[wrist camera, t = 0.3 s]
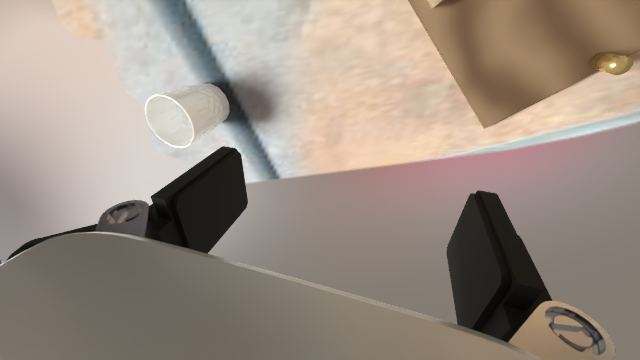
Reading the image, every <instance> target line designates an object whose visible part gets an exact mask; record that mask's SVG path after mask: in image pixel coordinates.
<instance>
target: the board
mask: <svg viewBox="0 0 640 360" xmlns="http://www.w3.org/2000/svg"><path fill="white" fill-rule="evenodd" d="M408 1H409V3H410V4H411V6H412V8H413V9H414V11H415V13H416V14H417V16H418V18H419V19H420V21H421V23H422V24H423V26H424V28H425V30H426V31H427V33H428V35H429V36H430V38H431V40H432V41H433V43H434V45H435V46H436V48H437V50H438V52H439V53H440V55H441V57H442V58H443V60H444V62H445V63H446V65H447V67H448V68H449V70H450V72H451V73H452V75H453V77H454V79H455V80H456V82H457V84H458V85H459V87H460V89H461V90H462V92H463V94H464V95H465V97H466V99H467V101H468V102H469V104H470V106H471V107H472V109H473V111H474V112H475V114H476V116H477V117H478V119H479V121H480V123H481V124H482V126H483V127H484V129H485V128H487V127H488V126H490V125H492V124H494V123H496V122H498V121H500V120H502V119H504V118H506V117H508V116H510V115H512V114H514V113H516V112H518V111H520V110H522V109H524V108H526V107H528V106H530V105H532V104H534V103H536V102H538V101H540V100H542V99H544V98H546V97H548V96H550V95H552V94H553V93H555V92H557V91H559V90H561V89H563V88H565V87H567V86H569V85H571V84H573V83H575V82H577V81H579V80H581V79H583V78H585V77H587V76H589V75H591V74H593V73H595V72H597V71H599V70H597V69H594V68H591V67H590V65H589V62H590V60H591V58H592V57H593V56H594V55H596V54H597V53H600V52H607V53H612V54H617V55H622V56H628V55H630V54H632V53H634V52H636V51H638V50H640V0H442V1H441V2H440V3H439V4H437V5H436V6H435V7H434V8H431V6H430V4H429V3H428V1H427V0H408Z"/></svg>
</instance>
